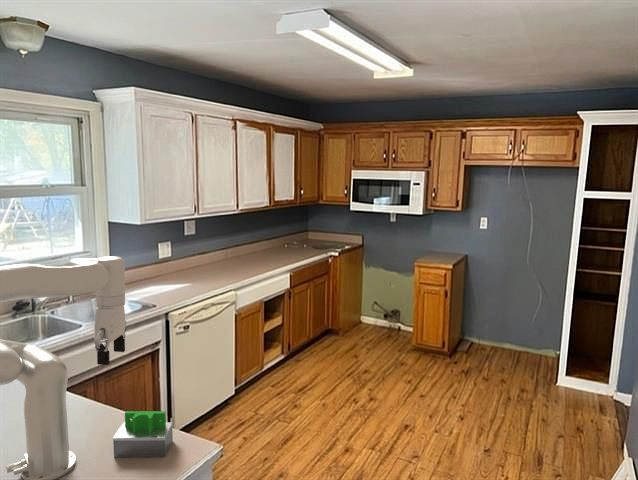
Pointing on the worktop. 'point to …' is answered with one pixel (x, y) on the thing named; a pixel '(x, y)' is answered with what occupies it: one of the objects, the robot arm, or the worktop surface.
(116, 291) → the robot arm
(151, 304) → the worktop surface
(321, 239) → the worktop surface
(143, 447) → the gray rectangular block
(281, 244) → the worktop surface
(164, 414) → the pipe clamp
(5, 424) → the worktop surface
